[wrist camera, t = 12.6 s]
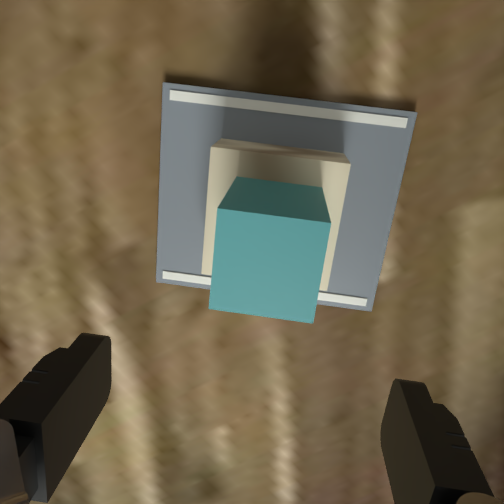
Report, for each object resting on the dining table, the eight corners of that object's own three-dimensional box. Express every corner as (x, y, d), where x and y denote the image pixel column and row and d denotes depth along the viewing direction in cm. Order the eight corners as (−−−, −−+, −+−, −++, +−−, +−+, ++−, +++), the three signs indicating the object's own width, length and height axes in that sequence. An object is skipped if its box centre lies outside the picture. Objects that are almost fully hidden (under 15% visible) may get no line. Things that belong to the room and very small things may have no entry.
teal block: (322, 187, 26) (331, 223, 20) (308, 266, 28) (313, 323, 21) (236, 176, 26) (217, 208, 20) (228, 255, 28) (208, 308, 22)
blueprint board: (414, 111, 29) (417, 112, 28) (369, 307, 34) (371, 312, 33) (165, 82, 29) (162, 82, 29) (158, 278, 34) (155, 282, 34)
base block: (343, 153, 29) (350, 164, 26) (323, 266, 32) (327, 291, 28) (221, 138, 30) (210, 146, 26) (211, 251, 32) (201, 274, 29)
